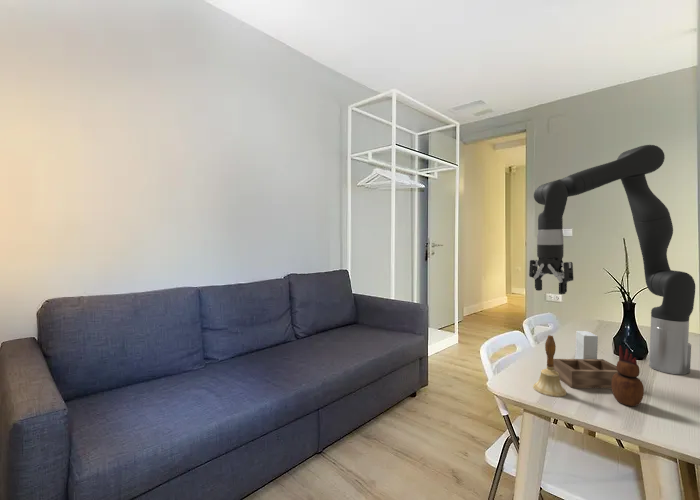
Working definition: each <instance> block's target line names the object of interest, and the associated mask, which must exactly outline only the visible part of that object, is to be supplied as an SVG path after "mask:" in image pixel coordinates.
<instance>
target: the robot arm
mask: <svg viewBox="0 0 700 500" xmlns="http://www.w3.org/2000/svg"><path fill="white" fill-rule="evenodd" d="M665 158H666V155H665V152H664V151H663V149H662V148H661V147H660V146H657V145H654V144H644V145H641V146H637V147H634V148H632V149H628V150H624V152H622V153H620V155H618V157H617V159H616V160H613V161H609V162H606V163H603V164H600V165H595V166H593V167H589V168H587V169H584V170H581V171H578V172H575V173H573V174H570V175H568V176H565V177H563V178H560V179H557V180H556V179H555V180H553V181H550V182H549V181H548V182H546V183H543V184H541V185H539V186H537V187H536V188H535V190H534V192H533V199H534V201H535V202H536V203H537V204H539V205H543V206H544V208H543V211H541V213H539V214H538V218H537V236H536V237H537V240H536V256H537V258H538V259H530V260H529V272H528V275H529V277H530V278H532V279H534V289H535V291H542V290H543V277H544V276H545V275H546V274H547V275H553V276H554V277H555V278H556V279H557V280H558V295H565V294H566V293H567V291H568V290H567V289H568V282H572V281H574V266H573V265H574V264H573V262H572V261H565V262H564V261H563V258H564V229H563V228H564V226H563V221H564V219H563V216H564V214H565V209H566V205H567V201H568V197H569V198H570V197H574V196H578V195H581V194H584V193H587V192H590V191H592V190H595V189H597V188H600V187H603V186H605V185H608V184H610V183H613V182H616V181H619V180H620V182H621V184H622V187H623V188H624V191H625V194H626V198H627V202H628V204H629V208H630V211H631V214H632V215H631V216H632V219H633V220H632V221H633V224H634V229H635V233H636V235H637V239H638V243H639V248H640V252H641V257H642V262H643V269H644V280H645V284H646V287H647V288H648V290H649V292H650V293H652V294H653V295H655V296H657V297H662V302H661V304H660V305H659V306H655V307H652V308H651V310H650V311H651V312H650V330H649V331H650V334H649V337H650V338H649V359H648V360H649V361H648V363H649V365H648V366H649V367H650V368H651V369H653V370H656V371H659V372H661V373H666V374H671V375H687V374H690V373H691V365H692V364H691V362H692V361H691V358H692V344H691V343H689V333H690V332H689V331H690V330H689V329H690V317H691V315H692V313H693V311H694V305H695V297H696V282H695V279H694V277H693V276H692V275H691V274H689V272H685V271H679V270H671V267H670V265H669V260H668V255H667V254H668V248H669V246H670V243H671V240H672V237H673V233H674V226H673V225H674V224H673V220H672V217H671V214H670V210H669V209H668V208H667V206H666V205H665V203H663V201H661V199H660V198H659V197H658V196H656V195H655V193H653V191H652V190H651V188H650V186H649V185H648V181H647V178H646V175H647V174H651V173H654V172H655V171H657V170H658V169H660V168H661V166H663V164H664V162H665Z"/></svg>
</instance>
